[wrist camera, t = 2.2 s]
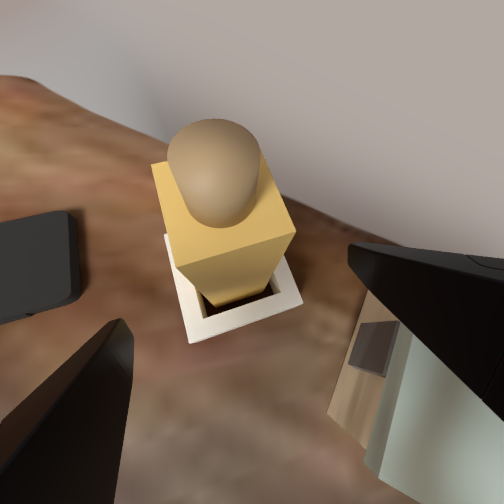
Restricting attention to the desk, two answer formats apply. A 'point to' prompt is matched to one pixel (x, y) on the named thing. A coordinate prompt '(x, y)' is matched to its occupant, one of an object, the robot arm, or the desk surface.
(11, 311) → the smart home device
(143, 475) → the desk surface
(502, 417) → the robot arm
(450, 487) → the toolbox
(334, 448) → the desk surface
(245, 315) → the white square frame
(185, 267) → the yellow block with peg
